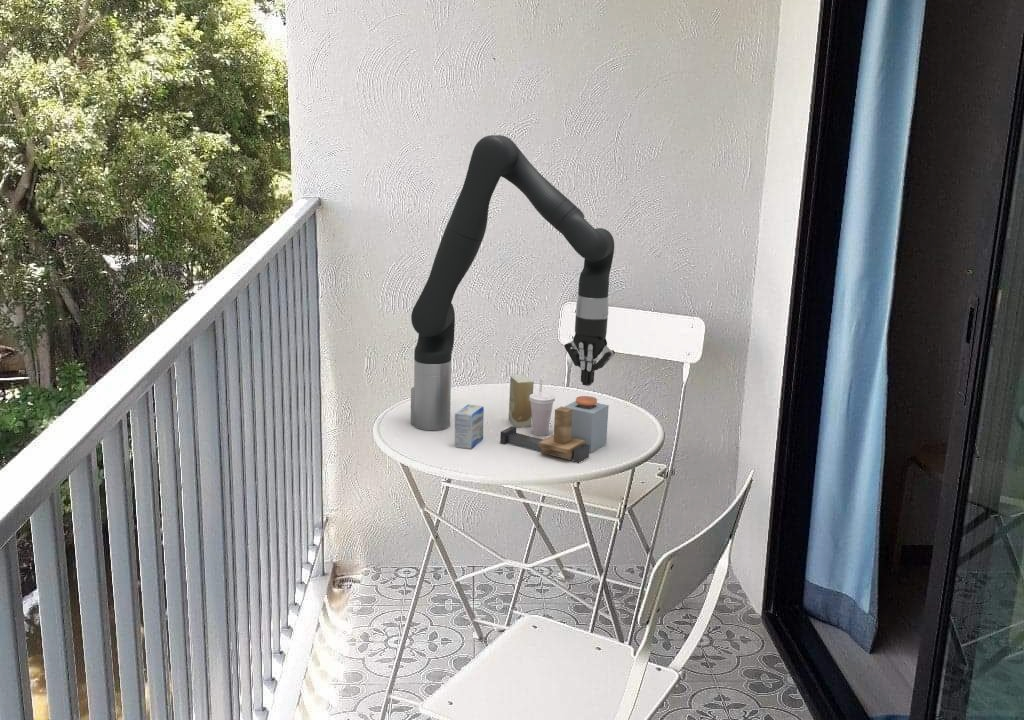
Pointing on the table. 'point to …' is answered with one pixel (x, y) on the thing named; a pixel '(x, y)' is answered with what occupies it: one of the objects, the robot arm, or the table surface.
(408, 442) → the table surface
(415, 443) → the table surface
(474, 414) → the medicine box
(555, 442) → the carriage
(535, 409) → the smoothie
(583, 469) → the table surface
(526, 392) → the skincare box
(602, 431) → the grey button box
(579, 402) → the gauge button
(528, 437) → the rail
